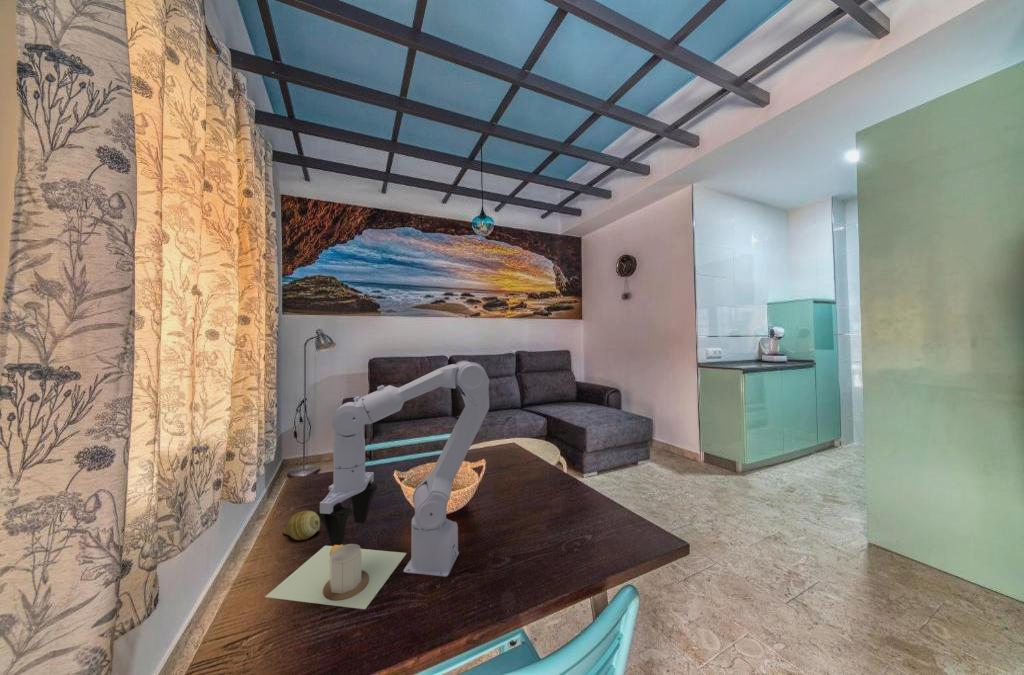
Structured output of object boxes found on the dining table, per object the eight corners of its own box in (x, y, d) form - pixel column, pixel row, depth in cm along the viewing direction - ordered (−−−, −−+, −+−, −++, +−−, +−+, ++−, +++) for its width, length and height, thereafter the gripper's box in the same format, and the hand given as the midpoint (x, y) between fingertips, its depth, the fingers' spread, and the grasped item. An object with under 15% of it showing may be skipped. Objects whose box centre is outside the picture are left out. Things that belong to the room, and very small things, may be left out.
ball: (348, 555, 74) (348, 541, 74) (339, 563, 71) (339, 549, 71) (335, 553, 75) (335, 540, 75) (326, 562, 72) (326, 548, 72)
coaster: (377, 572, 69) (377, 571, 69) (352, 602, 61) (352, 601, 61) (341, 569, 70) (341, 567, 70) (312, 598, 62) (312, 596, 62)
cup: (365, 575, 67) (366, 544, 68) (349, 594, 62) (349, 561, 62) (342, 572, 68) (342, 542, 68) (324, 591, 63) (324, 558, 63)
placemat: (406, 554, 75) (406, 553, 75) (365, 611, 59) (365, 609, 59) (325, 547, 78) (325, 545, 78) (264, 599, 62) (264, 596, 62)
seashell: (287, 551, 83) (266, 538, 78) (299, 521, 89) (280, 507, 84) (324, 545, 83) (306, 531, 78) (334, 515, 88) (317, 501, 83)
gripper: (352, 451, 75) (352, 512, 75) (304, 477, 61) (304, 553, 61) (382, 452, 74) (382, 514, 74) (340, 478, 60) (340, 556, 60)
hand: (349, 532), depth 67 cm, fingers open, 7 cm apart
